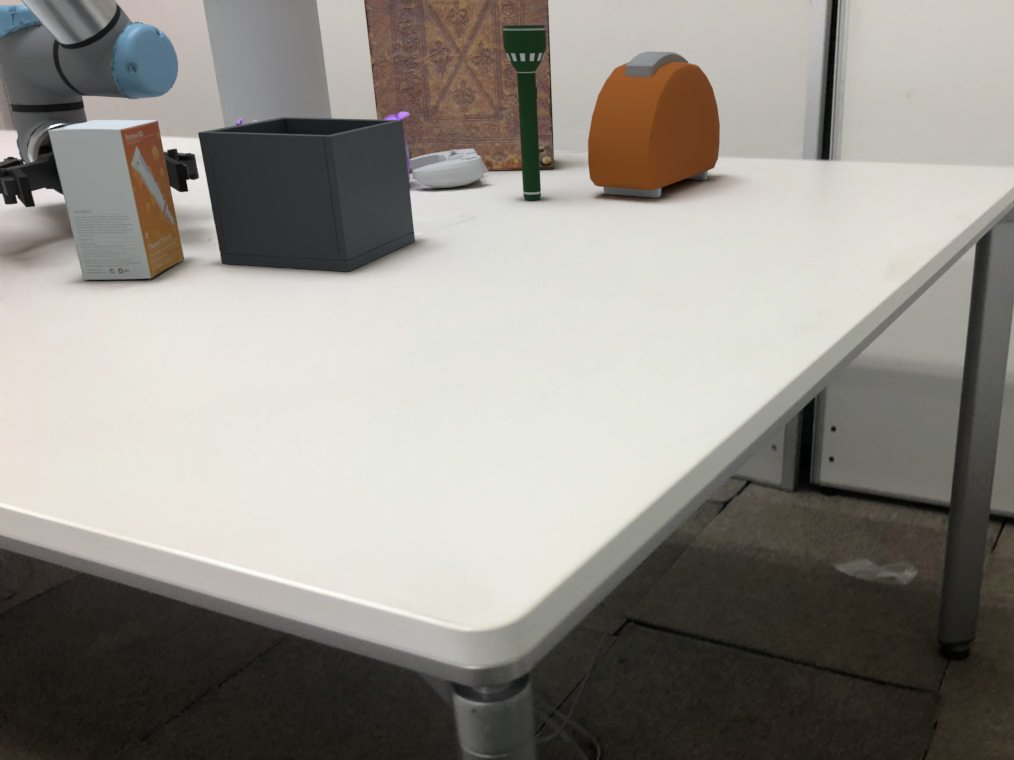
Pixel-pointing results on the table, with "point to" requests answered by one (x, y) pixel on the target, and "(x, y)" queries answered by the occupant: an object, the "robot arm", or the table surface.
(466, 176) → the game controller
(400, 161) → the dark grey square bin
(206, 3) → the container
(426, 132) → the book
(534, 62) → the flashlight
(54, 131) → the small box
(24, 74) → the robot arm
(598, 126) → the orange toaster
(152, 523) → the table surface
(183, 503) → the table surface
